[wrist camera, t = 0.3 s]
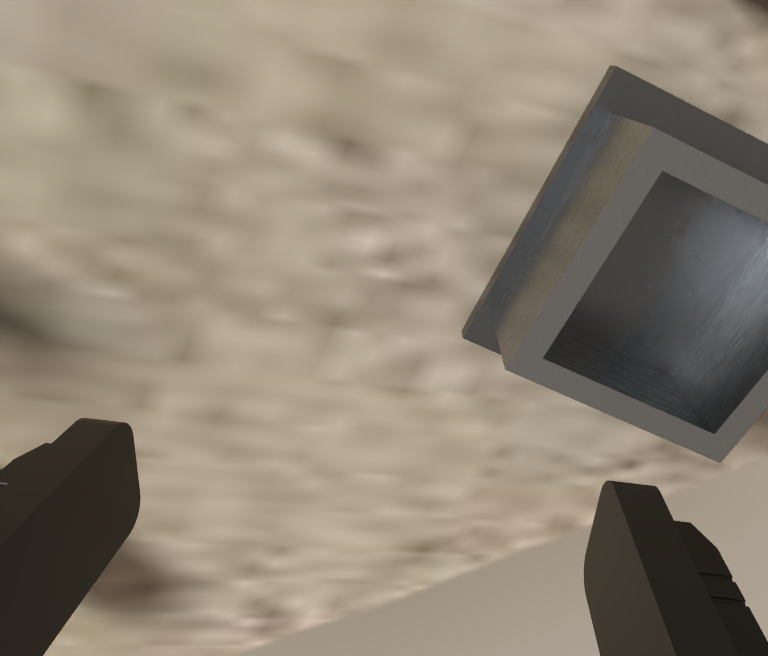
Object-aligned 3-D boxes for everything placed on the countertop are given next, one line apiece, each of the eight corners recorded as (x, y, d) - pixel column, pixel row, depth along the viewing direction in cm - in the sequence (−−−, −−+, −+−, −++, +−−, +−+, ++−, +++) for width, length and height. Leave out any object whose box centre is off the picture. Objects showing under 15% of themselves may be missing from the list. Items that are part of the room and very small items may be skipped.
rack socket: (610, 65, 29) (663, 70, 22) (840, 183, 30) (951, 220, 24) (461, 330, 35) (470, 393, 28) (660, 417, 36) (711, 496, 30)
